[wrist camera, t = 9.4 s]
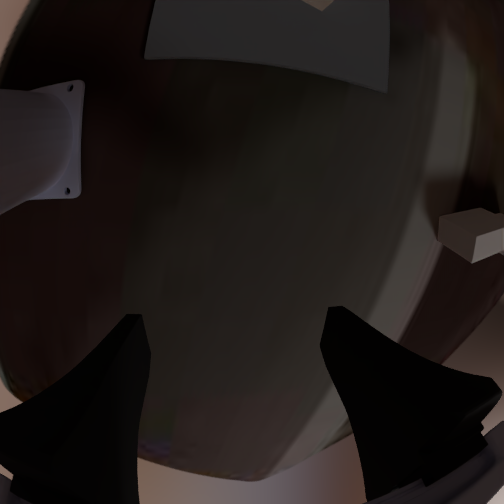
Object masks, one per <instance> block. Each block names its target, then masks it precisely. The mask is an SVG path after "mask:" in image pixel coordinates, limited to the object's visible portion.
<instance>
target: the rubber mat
mask: <svg viewBox="0 0 504 504" xmlns="http://www.w3.org/2000/svg"><path fill="white" fill-rule="evenodd" d="M389 39H390V26H389V0H334V1H333V2H332V3H330V4H329V5H328V6H327V7H326V8H325V9H324V10H323V11H321V10H319V9H317V8H315V7H313V6H311V5H310V4H308V3H306V2H304V1H302V0H156V1H155V5H154V9H153V13H152V18H151V23H150V27H149V32H148V38H147V43H146V49H145V55H144V59H145V60H152V59H211V60H226V61H238V62H248V63H256V64H264V65H271V66H277V67H283V68H289V69H294V70H299V71H304V72H309V73H313V74H318V75H322V76H326V77H330V78H334V79H338V80H342V81H345V82H349V83H352V84H356V85H359V86H362V87H365V88H368V89H371V90H374V91H377V92H380V93H383V94H384V93H387V86H388V71H389Z"/></svg>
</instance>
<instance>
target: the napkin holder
mask: <svg viewBox="0 0 504 504" xmlns="http://www.w3.org/2000/svg"><path fill="white" fill-rule="evenodd" d="M437 241H439V242H441V243H442V244H444V245H445V246H447V247H448V248H450V249H451V250H453V251H454V252H456V253H457V254H459V255H460V256H462V257H463V258H465V259H466V260H468V261H469V262H470V263H474V262H477V261H479V260H481V259H484V258H486V257H489V256H491V255H493V254H496V253H498V252H499V253H501V254H502V255H504V215H503V214H501V213H498V214H494V213H492V212H489V211H487V210H485V209H483V208H476V209H471V210H467V211H462V212H457V213H452V214H447V215H443V216H439V227H438V237H437Z"/></svg>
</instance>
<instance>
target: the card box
mask: <svg viewBox="0 0 504 504" xmlns="http://www.w3.org/2000/svg"><path fill="white" fill-rule="evenodd" d="M302 1H304V2H306V3H308V4H310V5H311V6H313V7H315V8H317V9H319V10H321V11H323V10H324V9H325V8H326V7H327V6H328V5H329V4H330V3H332V2H333V1H334V0H302Z"/></svg>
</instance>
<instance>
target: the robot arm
mask: <svg viewBox="0 0 504 504" xmlns="http://www.w3.org/2000/svg"><path fill="white" fill-rule="evenodd" d="M72 85H73V90H72V91H70V87H71V86H72ZM84 91H85V83H84V82H83V81H82V80H74V81H69V82H64V83H59V84H54V85H50V86H46V87H42V88H38V89H34V90H30V91H22V90H10V89H0V214H2V213H4V212H6V211H8V210H9V209H11V208H13V207H15V206H17V205H19V204H21V203H23V202H24V201H26V200H33V199H59V198H76V197H78V196H79V195H80V193H81V128H82V112H83V101H84ZM67 187H68V188H69V189H70V194H69V193H68V192H67ZM320 348H321V352H322V355H323V359H324V362H325V365H326V367H327V370H328V372H329V374H330V376H331V379H332V381H333V383H334V385H335V387H336V389H337V392H338V394H339V396H340V398H341V400H342V402H343V405H344V407H345V409H346V412H347V414H348V417H349V420H350V423H351V427H352V430H353V433H354V437H355V441H356V444H357V448H358V452H359V457H360V462H361V467H362V471H363V478H364V485H365V493H366V499H367V502H366V503H363V504H487V503H488V501H489V500H491V498H492V497H493V496H494V495H495V494H496V493H497V492H498V491H499V490H500V488H501V487H502V486H503V485H504V421H502V422H500V423H499V424H498V425H497V426H495V427H494V428H493V429H492V430H490V431H489V432H488V433H487V434H486V435H484V436H483V435H482V434H481V431H482V430H483V429H484V427H483V425H482V423H481V421H482V420H483V419H484V418H485V417H486V416H487V415H488V413H489V412H490V411H491V410H492V409H493V408H494V406H495V405H496V404H497V403H498V401H499V400H500V398H501V396H502V390H501V389H500V388H499V387H498V385H497V384H496V383H495V381H494V380H493V379H492V378H490V377H484V376H479V375H473V374H469V373H464V372H461V371H458V370H454V369H451V368H448V367H445V366H443V365H440V364H438V363H435V362H433V361H430V360H428V359H426V358H423V357H421V356H419V355H417V354H416V353H414V352H412V351H410V350H408V349H406V348H404V347H403V346H401V345H399V344H398V343H396V342H394V341H393V340H391V339H390V338H388V337H387V336H385V335H383V334H382V333H381V332H379V331H378V330H376V329H375V328H373V327H372V326H371V325H369V324H368V323H366V322H365V321H364V320H362V319H361V318H359V317H358V316H357V315H355V314H354V313H352V312H351V311H349V310H348V309H346V308H345V307H343V306H336V307H328V311H327V316H326V320H325V325H324V329H323V333H322V338H321V342H320ZM150 359H151V351H150V347H149V344H148V340H147V336H146V331H145V327H144V323H143V318H142V314H126V315H125V316H124V318H123V319H122V320H121V321H120V322H119V323H118V324H117V325H116V326H115V327H114V328H113V329H112V330H111V332H110V333H109V334H108V335H107V336H106V337H105V338H104V339H103V340H102V341H101V342H100V343H99V344H98V345H97V347H96V348H95V349H94V350H92V351H91V352H90V353H89V354H88V355H87V356H86V357H85V358H84V359H83V360H82V361H81V362H80V363H79V364H78V365H77V366H76V367H75V368H73V369H72V370H71V371H70V372H69V373H67V374H66V375H65V376H64V377H62V378H61V379H60V380H58V381H57V382H56V383H54V384H53V385H51V386H50V387H48V388H47V389H45V390H44V391H42V392H41V393H39V394H38V395H36V396H34V397H32V398H31V399H29V400H27V401H25V402H23V403H21V404H19V405H17V406H15V407H13V408H11V409H8V410H6V411H3V412H1V413H0V464H1V465H2V466H3V467H4V468H6V469H7V470H8V471H9V472H11V473H12V474H13V479H12V480H10V479H9V478H7V477H6V476H4V475H2V474H0V504H140V503H139V494H138V477H137V447H138V430H139V422H140V417H141V412H142V407H143V402H144V397H145V392H146V387H147V383H148V378H149V370H150Z"/></svg>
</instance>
